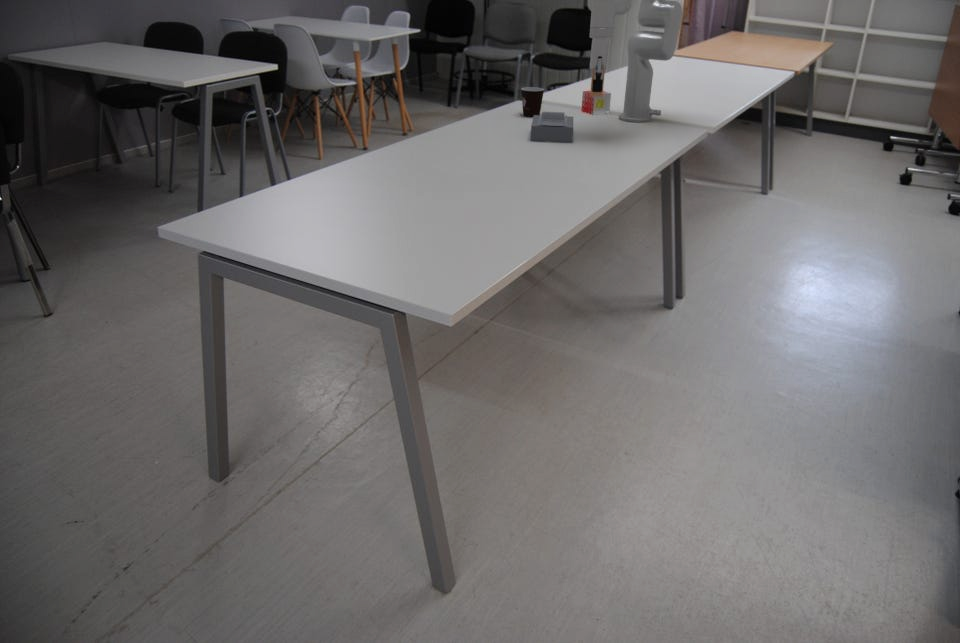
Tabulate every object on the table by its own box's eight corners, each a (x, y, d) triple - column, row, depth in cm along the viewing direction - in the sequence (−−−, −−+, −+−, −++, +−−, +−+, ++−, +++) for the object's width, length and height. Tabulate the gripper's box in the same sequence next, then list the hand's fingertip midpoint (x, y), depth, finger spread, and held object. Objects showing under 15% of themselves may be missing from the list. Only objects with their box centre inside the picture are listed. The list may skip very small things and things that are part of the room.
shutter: (564, 121, 254) (564, 112, 252) (563, 126, 247) (564, 116, 246) (541, 120, 254) (542, 111, 253) (540, 125, 248) (541, 116, 246)
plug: (603, 94, 253) (605, 63, 248) (603, 97, 249) (606, 66, 244) (589, 94, 253) (591, 63, 249) (589, 96, 249) (591, 65, 245)
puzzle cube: (593, 115, 290) (594, 94, 287) (581, 111, 296) (582, 91, 293) (609, 113, 294) (611, 93, 290) (597, 110, 300) (599, 89, 296)
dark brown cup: (543, 118, 283) (544, 91, 279) (520, 117, 283) (521, 90, 279) (541, 112, 294) (542, 86, 289) (519, 111, 294) (520, 85, 289)
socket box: (572, 130, 265) (573, 115, 262) (572, 142, 249) (573, 126, 246) (533, 129, 266) (533, 113, 264) (530, 140, 250) (531, 124, 248)
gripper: (589, 29, 250) (585, 85, 258) (590, 35, 235) (585, 95, 243) (611, 30, 249) (607, 86, 257) (614, 36, 234) (609, 95, 243)
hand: (596, 90), depth 250 cm, fingers closed on plug, 4 cm apart
